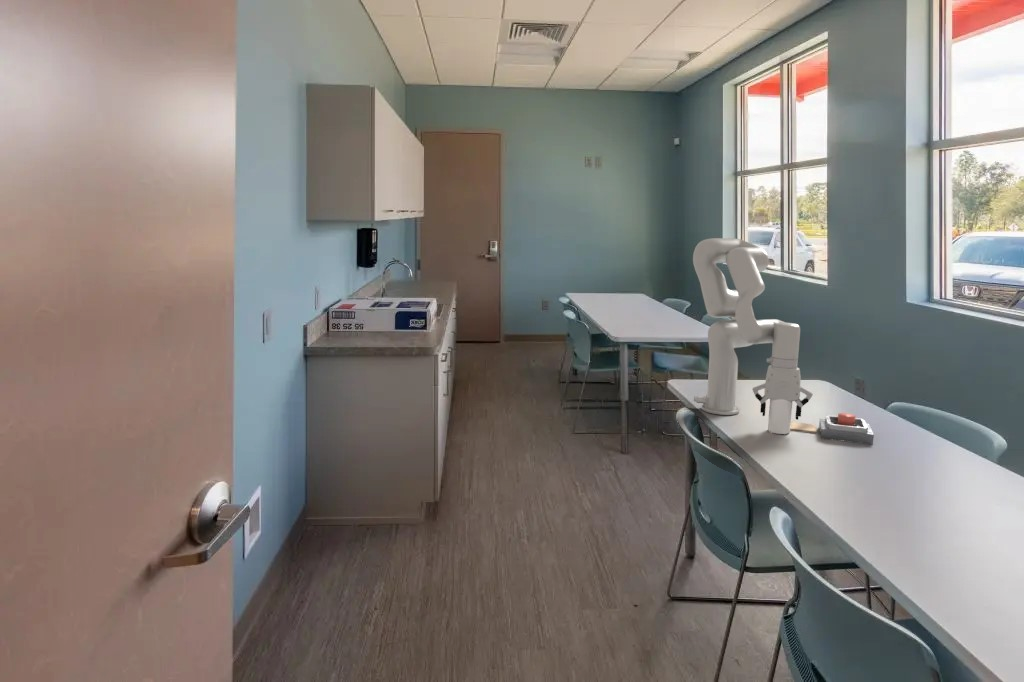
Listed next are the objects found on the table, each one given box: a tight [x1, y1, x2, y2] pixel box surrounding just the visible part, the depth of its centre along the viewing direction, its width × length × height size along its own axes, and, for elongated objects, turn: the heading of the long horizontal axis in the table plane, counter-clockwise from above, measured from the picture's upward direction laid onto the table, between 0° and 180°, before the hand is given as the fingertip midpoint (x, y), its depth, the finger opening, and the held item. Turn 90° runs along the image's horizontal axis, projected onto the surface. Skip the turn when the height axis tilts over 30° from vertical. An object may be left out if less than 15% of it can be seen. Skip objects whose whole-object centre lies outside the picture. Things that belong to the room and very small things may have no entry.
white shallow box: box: [818, 414, 875, 445], centre depth 204 cm, size 14×12×4 cm
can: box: [767, 399, 793, 435], centre depth 207 cm, size 6×6×12 cm
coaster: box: [790, 421, 818, 434], centre depth 212 cm, size 8×8×1 cm
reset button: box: [837, 412, 857, 426], centre depth 204 cm, size 5×5×3 cm
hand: (780, 416), depth 207 cm, fingers open, 9 cm apart
